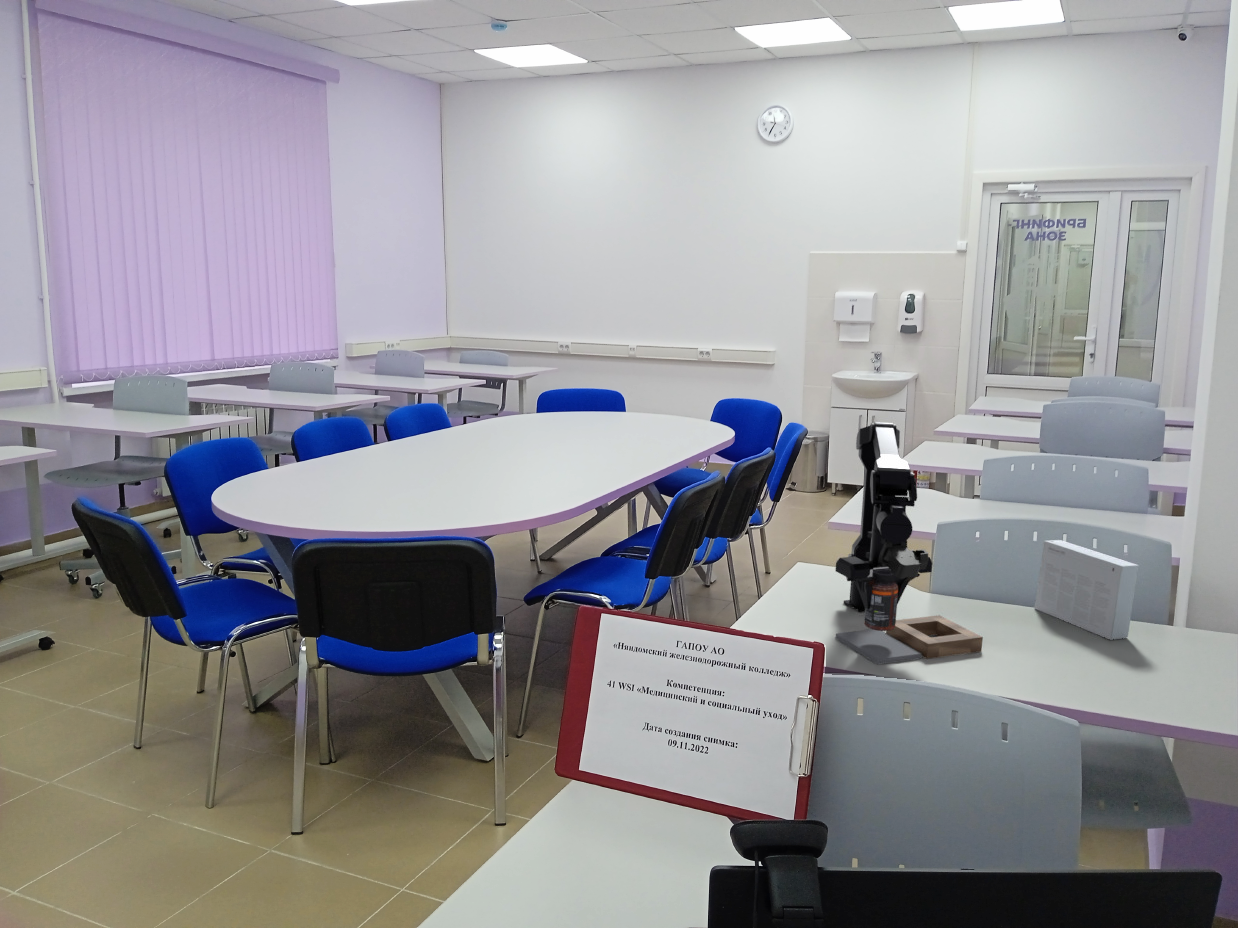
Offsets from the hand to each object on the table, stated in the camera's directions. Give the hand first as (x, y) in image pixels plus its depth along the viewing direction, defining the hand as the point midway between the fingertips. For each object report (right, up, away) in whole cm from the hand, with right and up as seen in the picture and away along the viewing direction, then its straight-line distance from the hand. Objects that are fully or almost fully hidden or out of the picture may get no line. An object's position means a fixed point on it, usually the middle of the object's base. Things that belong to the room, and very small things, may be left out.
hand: (880, 607), depth 191 cm
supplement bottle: (0, -4, +1) cm, 4 cm away
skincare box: (+48, -7, +20) cm, 53 cm away
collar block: (+12, -8, +5) cm, 15 cm away
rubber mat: (0, -8, +1) cm, 8 cm away
